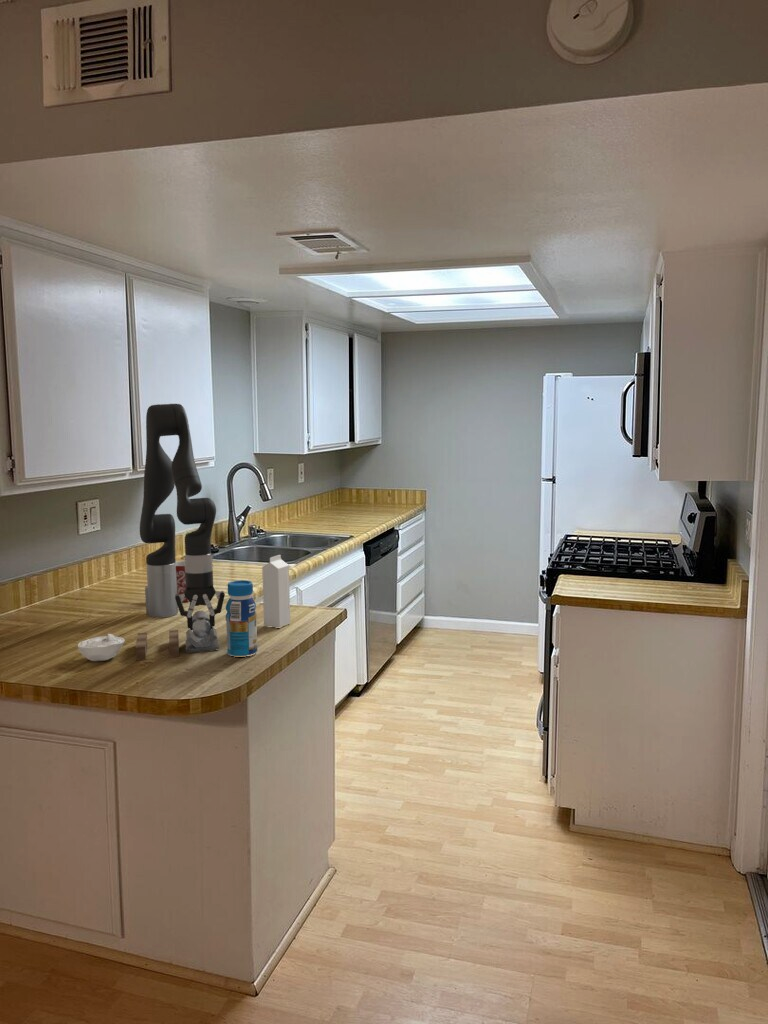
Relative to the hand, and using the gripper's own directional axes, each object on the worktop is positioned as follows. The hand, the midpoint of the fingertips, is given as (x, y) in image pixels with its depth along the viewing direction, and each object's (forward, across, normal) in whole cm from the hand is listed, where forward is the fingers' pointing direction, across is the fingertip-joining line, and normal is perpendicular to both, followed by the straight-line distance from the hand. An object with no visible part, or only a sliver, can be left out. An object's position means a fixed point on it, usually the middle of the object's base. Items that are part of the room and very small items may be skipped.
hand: (201, 628), depth 215 cm
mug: (+6, -3, +58) cm, 58 cm away
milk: (+6, +23, +17) cm, 29 cm away
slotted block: (+6, -12, +1) cm, 13 cm away
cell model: (+6, -26, -2) cm, 27 cm away
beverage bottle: (+6, +11, -9) cm, 15 cm away
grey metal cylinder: (+1, 0, 0) cm, 1 cm away
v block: (+6, 0, +1) cm, 6 cm away
